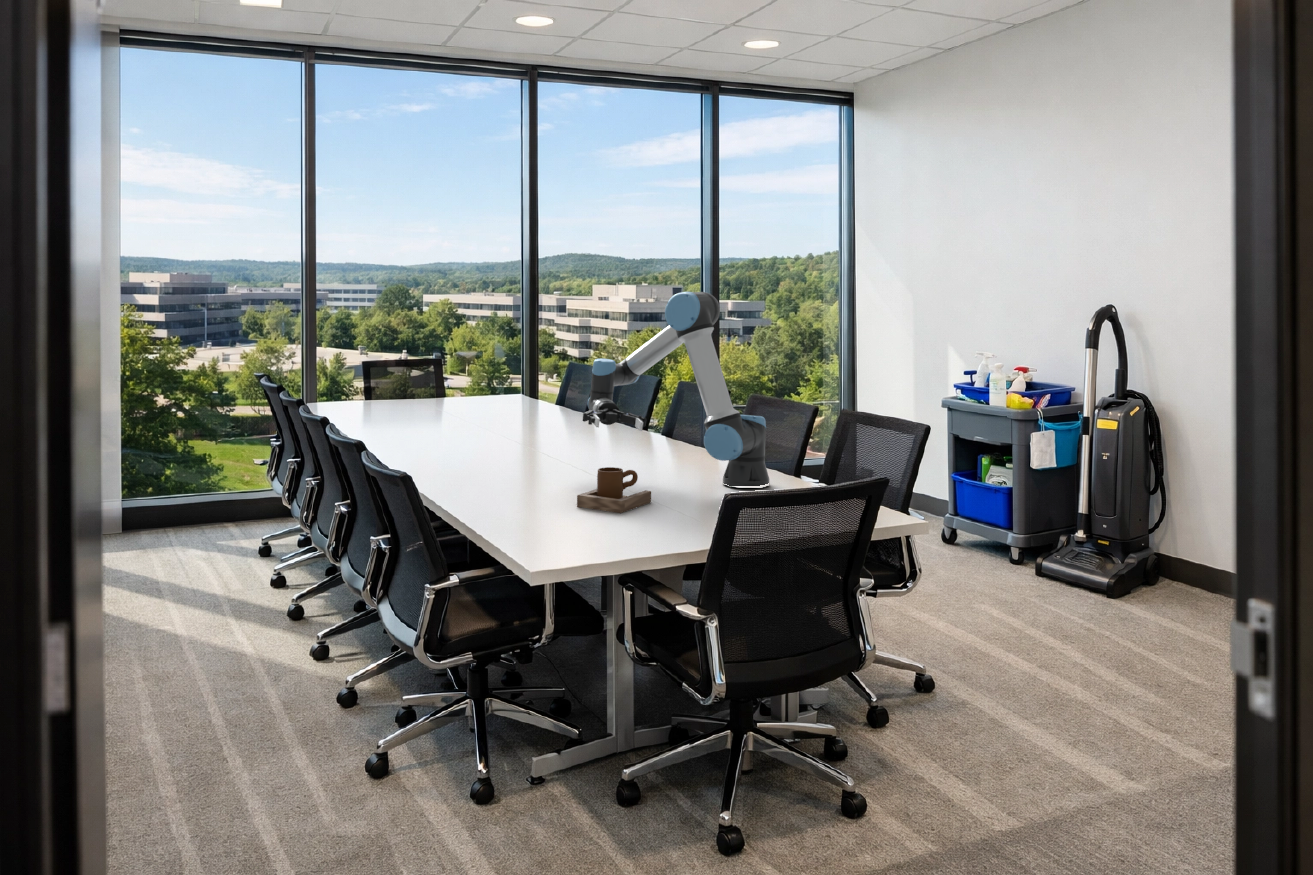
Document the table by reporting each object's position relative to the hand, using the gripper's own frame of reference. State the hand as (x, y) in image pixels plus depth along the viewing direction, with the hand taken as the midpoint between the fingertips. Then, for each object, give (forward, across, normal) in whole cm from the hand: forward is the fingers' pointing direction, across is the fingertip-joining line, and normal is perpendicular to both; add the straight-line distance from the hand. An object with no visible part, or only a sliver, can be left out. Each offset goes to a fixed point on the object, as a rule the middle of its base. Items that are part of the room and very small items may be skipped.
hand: (619, 424), depth 306 cm
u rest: (+15, +2, -21) cm, 26 cm away
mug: (+14, +1, -20) cm, 25 cm away
